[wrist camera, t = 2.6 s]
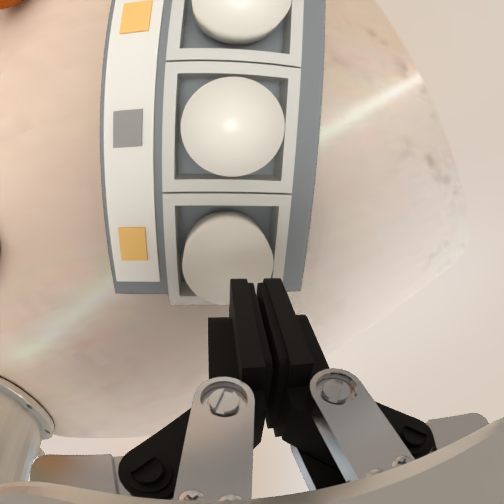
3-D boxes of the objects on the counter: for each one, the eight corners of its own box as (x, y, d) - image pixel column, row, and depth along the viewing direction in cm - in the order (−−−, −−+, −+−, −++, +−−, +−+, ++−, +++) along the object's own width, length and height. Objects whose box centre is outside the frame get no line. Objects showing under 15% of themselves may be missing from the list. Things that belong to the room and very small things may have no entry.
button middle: (271, 171, 15) (281, 178, 13) (183, 169, 14) (179, 176, 12) (277, 86, 13) (287, 81, 11) (186, 82, 12) (182, 75, 10)
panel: (291, 273, 22) (308, 305, 18) (124, 274, 20) (109, 308, 16) (312, -5, 13) (336, -29, 10) (126, -10, 12) (109, -37, 8)
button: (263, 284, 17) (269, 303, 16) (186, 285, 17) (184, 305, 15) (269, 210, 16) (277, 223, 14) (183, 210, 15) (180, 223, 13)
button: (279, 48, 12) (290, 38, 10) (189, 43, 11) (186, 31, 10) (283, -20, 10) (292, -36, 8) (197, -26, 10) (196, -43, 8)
